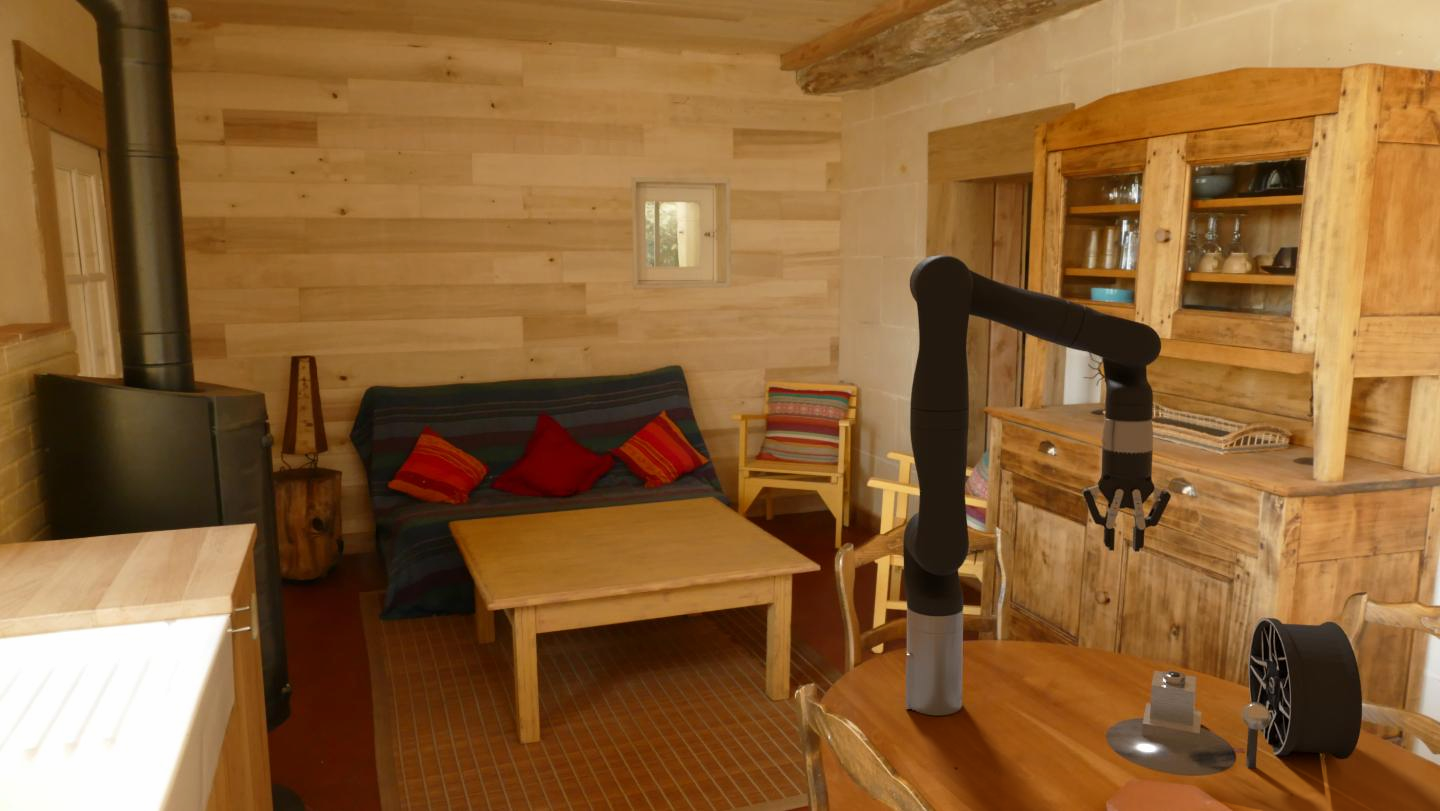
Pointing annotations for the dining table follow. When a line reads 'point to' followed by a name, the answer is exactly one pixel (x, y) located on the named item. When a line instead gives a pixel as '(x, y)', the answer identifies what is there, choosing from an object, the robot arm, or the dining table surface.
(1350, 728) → the wheel rim
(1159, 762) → the turntable
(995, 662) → the dining table surface
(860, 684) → the dining table surface
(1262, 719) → the dial indicator post
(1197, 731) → the cover
